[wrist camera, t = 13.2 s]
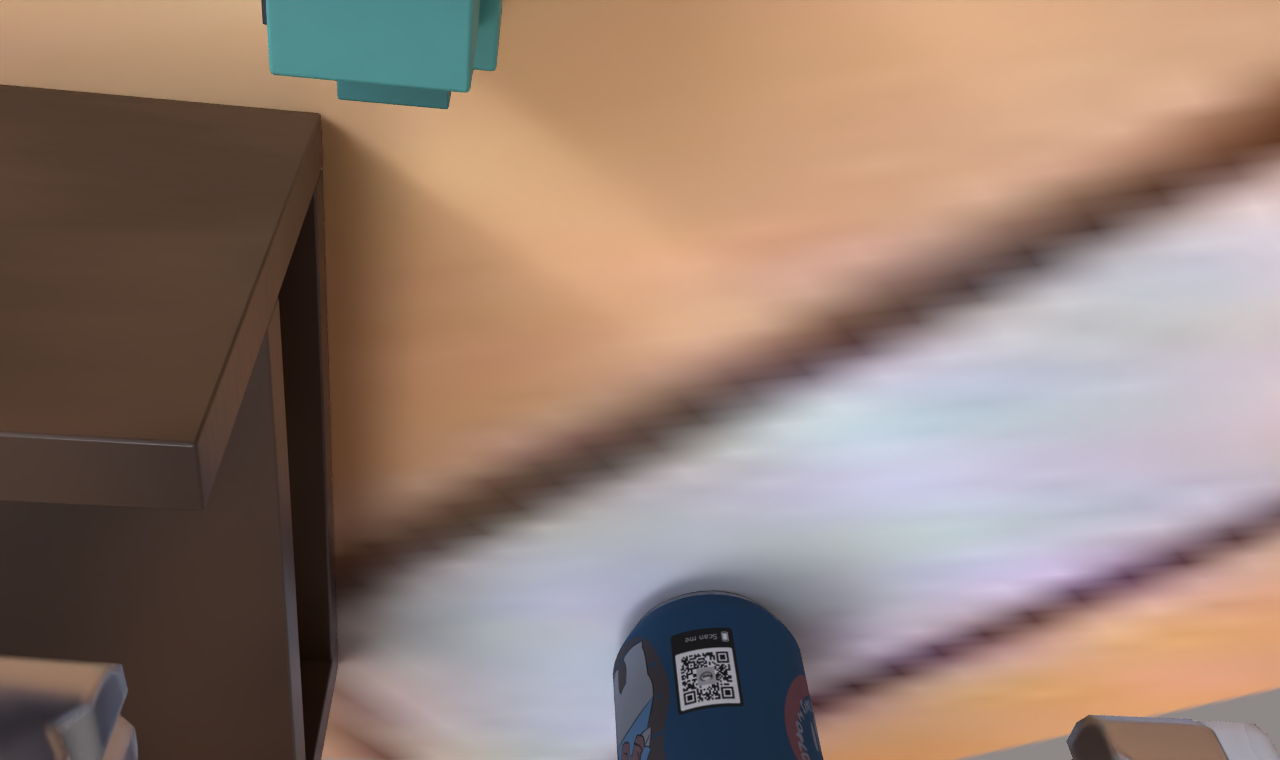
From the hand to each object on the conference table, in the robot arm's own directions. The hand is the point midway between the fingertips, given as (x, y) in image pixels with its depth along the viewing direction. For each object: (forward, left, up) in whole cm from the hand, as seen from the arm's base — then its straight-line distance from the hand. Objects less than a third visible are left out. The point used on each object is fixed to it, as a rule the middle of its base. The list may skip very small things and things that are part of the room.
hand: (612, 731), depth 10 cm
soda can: (-7, +25, -24) cm, 36 cm away
